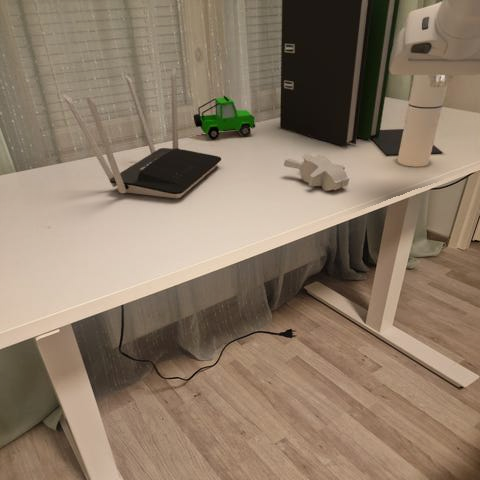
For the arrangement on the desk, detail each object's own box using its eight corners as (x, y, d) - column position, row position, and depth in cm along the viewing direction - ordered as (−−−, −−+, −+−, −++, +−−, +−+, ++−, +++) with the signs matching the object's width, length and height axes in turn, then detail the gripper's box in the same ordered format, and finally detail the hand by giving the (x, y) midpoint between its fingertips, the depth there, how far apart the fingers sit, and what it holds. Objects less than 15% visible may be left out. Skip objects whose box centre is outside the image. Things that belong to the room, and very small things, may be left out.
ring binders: (380, 137, 118) (403, -9, 98) (341, 147, 112) (357, -6, 92) (315, 120, 136) (322, -6, 117) (278, 128, 130) (280, -3, 110)
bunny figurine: (327, 178, 85) (280, 151, 93) (323, 202, 88) (278, 174, 97) (360, 168, 89) (312, 143, 98) (355, 190, 92) (309, 165, 101)
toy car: (256, 135, 124) (256, 98, 118) (198, 142, 121) (194, 103, 115) (248, 128, 131) (248, 92, 124) (193, 134, 128) (190, 97, 121)
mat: (412, 130, 124) (413, 128, 124) (442, 153, 107) (442, 152, 106) (364, 131, 124) (364, 130, 124) (386, 155, 107) (386, 154, 107)
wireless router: (169, 213, 84) (152, 101, 71) (72, 200, 90) (42, 96, 78) (230, 159, 108) (226, 69, 96) (151, 152, 115) (137, 67, 103)
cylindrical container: (392, 162, 103) (415, 39, 87) (405, 154, 107) (430, 35, 91) (420, 168, 99) (450, 40, 83) (433, 160, 103) (464, 37, 87)
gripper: (532, 9, 68) (496, 69, 82) (399, 12, 72) (386, 68, 86) (529, 45, 68) (494, 99, 81) (395, 46, 72) (383, 98, 85)
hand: (437, 83), depth 84 cm, fingers closed
